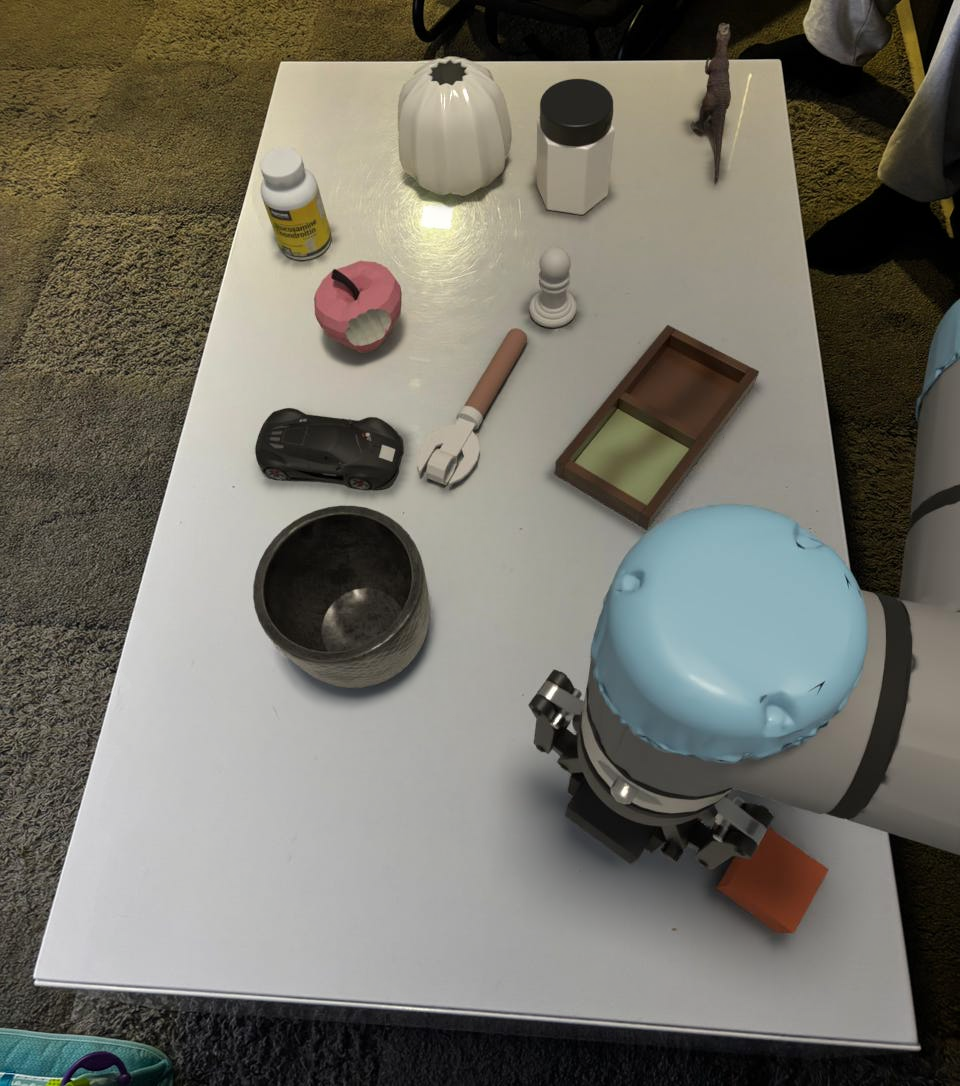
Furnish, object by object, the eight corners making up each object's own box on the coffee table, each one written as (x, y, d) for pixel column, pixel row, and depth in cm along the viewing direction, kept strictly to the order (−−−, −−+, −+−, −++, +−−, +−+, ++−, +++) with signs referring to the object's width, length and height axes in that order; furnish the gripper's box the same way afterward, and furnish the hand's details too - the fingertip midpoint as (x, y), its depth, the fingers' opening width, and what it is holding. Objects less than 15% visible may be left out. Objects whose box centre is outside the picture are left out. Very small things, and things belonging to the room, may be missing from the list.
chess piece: (585, 315, 93) (590, 255, 85) (546, 336, 92) (547, 278, 84) (558, 286, 95) (561, 225, 87) (520, 306, 94) (518, 246, 86)
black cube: (672, 797, 58) (682, 787, 54) (631, 865, 56) (638, 859, 52) (606, 752, 60) (611, 738, 56) (564, 815, 58) (566, 806, 54)
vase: (445, 227, 100) (433, 129, 88) (383, 166, 105) (363, 66, 93) (534, 175, 103) (534, 74, 91) (469, 119, 108) (461, 16, 96)
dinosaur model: (733, 13, 96) (757, 105, 90) (717, 101, 106) (738, 188, 101) (698, 18, 96) (720, 110, 90) (686, 105, 107) (705, 192, 101)
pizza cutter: (495, 336, 93) (494, 317, 90) (543, 352, 92) (544, 334, 89) (410, 475, 85) (406, 459, 82) (462, 496, 83) (460, 480, 81)
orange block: (811, 873, 66) (829, 869, 62) (777, 933, 65) (794, 933, 60) (750, 830, 68) (763, 823, 64) (716, 888, 66) (727, 884, 62)
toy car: (394, 493, 84) (387, 472, 80) (254, 477, 86) (241, 455, 82) (408, 433, 87) (402, 409, 83) (273, 419, 89) (261, 395, 85)
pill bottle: (271, 257, 100) (241, 177, 89) (292, 219, 102) (265, 137, 92) (321, 266, 98) (295, 186, 88) (340, 228, 101) (318, 146, 90)
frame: (753, 386, 87) (759, 371, 85) (647, 530, 81) (650, 517, 78) (664, 340, 91) (667, 324, 88) (554, 474, 84) (555, 461, 82)
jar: (615, 208, 100) (625, 119, 89) (550, 223, 99) (553, 135, 88) (592, 159, 104) (599, 68, 93) (530, 173, 103) (530, 84, 92)
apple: (336, 379, 91) (315, 318, 82) (318, 322, 95) (296, 257, 86) (419, 354, 92) (406, 291, 83) (398, 299, 95) (384, 232, 86)
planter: (458, 585, 79) (445, 524, 67) (412, 724, 73) (389, 683, 62) (325, 551, 82) (290, 487, 70) (271, 683, 76) (223, 637, 64)
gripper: (451, 680, 39) (481, 772, 59) (816, 939, 33) (708, 940, 54) (541, 560, 41) (540, 689, 62) (896, 783, 35) (763, 842, 56)
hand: (618, 806), depth 58 cm, fingers closed on black cube, 5 cm apart
